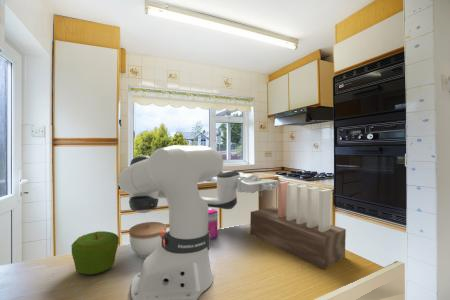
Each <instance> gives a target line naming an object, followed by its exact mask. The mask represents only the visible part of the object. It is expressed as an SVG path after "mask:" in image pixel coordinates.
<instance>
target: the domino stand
mask: <svg viewBox="0 0 450 300" xmlns="http://www.w3.org/2000/svg"><path fill="white" fill-rule="evenodd" d="M249 222H250V224H249V225H250V230H249V232H250V234H249V235H250V236H253V237H254V238H257V239H259V240H261V241H263V242H265V243H267V244H270V245H271V246H273V247H276V248H277V249H280V250H282V251H284V252H286V253H288V254H291V255H292V256H294V257H296V258H298V259H300V260H302V261H304V262H307V263H308V264H310V265H313V266H315V267H317V268H318V269H320V270H323V271H325V270H326V269H328V268H329V267H331V266H333V265H334V264H336V263H338V262H340V261H341V260H343V259H345V258H346V235H347V233H346V232H347V231H346V229H345V228H344V227H339V226H337V225H333V224H330V229H329V230H327V231H325V232H320V231H318V226H315V227H313V228H308V227H307V222H306V223H303V224H297V223H296V219H295V220H291V221H288V220H286V216H285V217H282V218H280V217H278V207H275V206H274V207H273V206H269V207H266V208H261V209H258V210H253V211H252V210H251V211H250V221H249Z"/></svg>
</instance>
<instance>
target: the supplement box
mask: <svg viewBox="0 0 450 300" xmlns="http://www.w3.org/2000/svg"><path fill="white" fill-rule="evenodd" d="M208 230H209V234H210V240H213V239H216V238H218V210H217V209H216V210H215V209H214V208H213V207H208Z"/></svg>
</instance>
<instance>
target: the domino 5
mask: <svg viewBox="0 0 450 300" xmlns="http://www.w3.org/2000/svg"><path fill="white" fill-rule="evenodd" d="M331 211H332V189H331V188H330V189H329V188H325V189H319V222H318V231H320V232H325V231H327V230H329V229H330V225H331V223H332V221H331V219H332V218H331V217H332V216H331V214H332V212H331Z"/></svg>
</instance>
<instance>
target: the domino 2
mask: <svg viewBox="0 0 450 300" xmlns="http://www.w3.org/2000/svg"><path fill="white" fill-rule="evenodd" d="M297 186H299V184H298V183H289V184H287V207H286V220H288V221H291V220H295V219H296V209H297Z"/></svg>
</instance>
